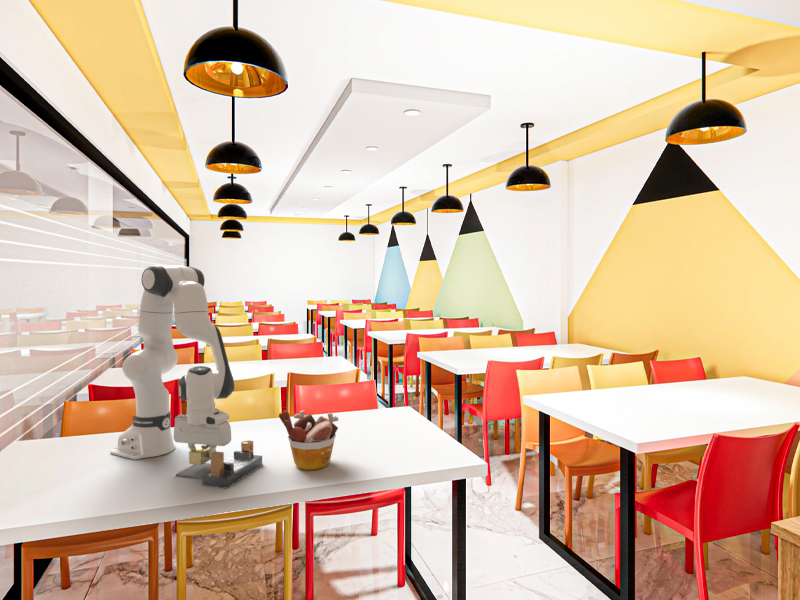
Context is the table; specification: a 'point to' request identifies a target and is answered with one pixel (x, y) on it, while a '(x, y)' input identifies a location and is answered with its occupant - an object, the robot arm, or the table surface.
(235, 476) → the hand plane
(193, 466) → the mat
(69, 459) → the table surface
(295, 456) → the fried chicken
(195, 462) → the tan rectangular block
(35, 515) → the table surface
